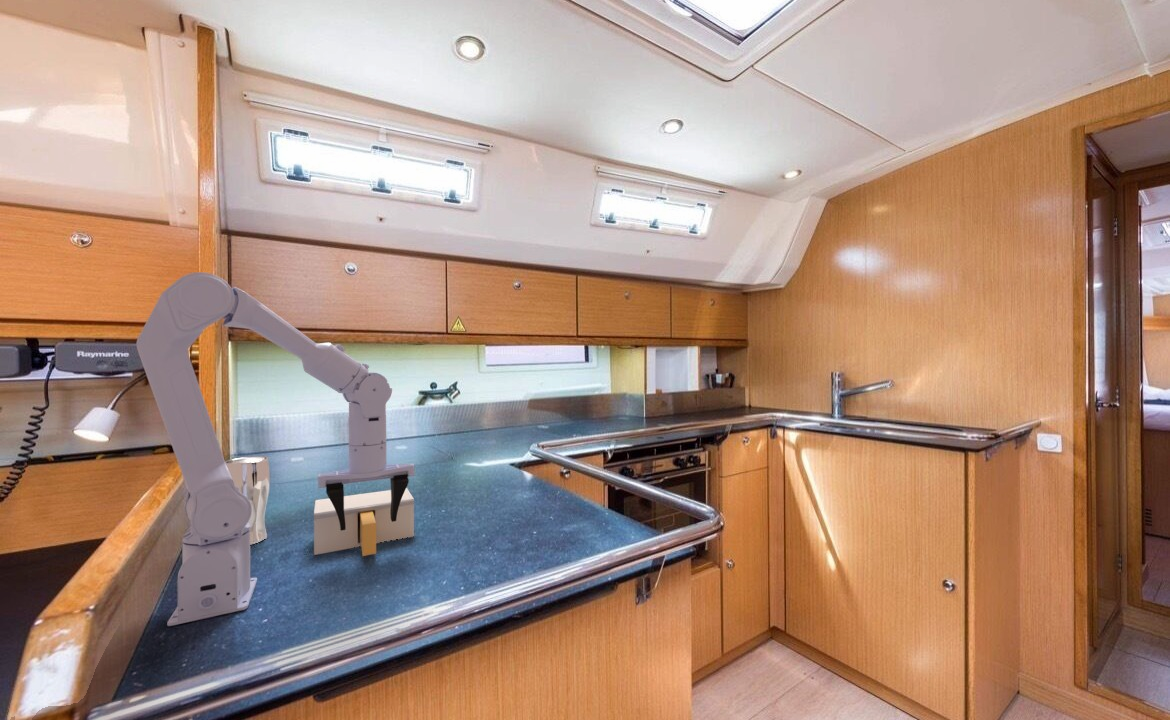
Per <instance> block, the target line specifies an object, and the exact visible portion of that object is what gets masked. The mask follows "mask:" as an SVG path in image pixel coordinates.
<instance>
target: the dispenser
mask: <svg viewBox="0 0 1170 720" xmlns="http://www.w3.org/2000/svg"><path fill="white" fill-rule="evenodd" d="M414 507H415V498H414V497H413V495H412V494H411V493H410V491H409V489H408V487H407V488H406V489H405V492H404V494H403V496H402V499H401V501H400V505H399V508H398V512H397V518H396V521H394V522H392V521H391V515H390V510H391V489H389V490H387V489H386V490H381V491H375V492H373V491H372V492H366V493H358V494H351V495H344V515H345V530H341V529H340V522H339V519H338V515H337V513H336V510H335V508H334V506H333V504H332V502H331V500H330V499H329V497H328V498H322V499H315V503H314V510H313V555H314V556H316V555H322V554H326V553H332V552H339V551H343V550H348V549H354V547H355V548H359V546H360V547H361V542H360V536H359V530H358V513H359V512H366V511H372V510H373V514H374V517H375V521H376V544H381V543H380V542H382V543H385V542H384V541H387V542H391V541H390V540H392V541H397V540H396V539H398V540H401V539H402V538H403V539H406V538H407V537H408V538H413V536H414V537H415V508H414Z"/></svg>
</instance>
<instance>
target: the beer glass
mask: <svg viewBox="0 0 1170 720" xmlns="http://www.w3.org/2000/svg"><path fill="white" fill-rule="evenodd" d="M225 463H226V465H227V467H228V470H229V472H230V474H231V476H232V479H233V481H234V484H235V485H236V486H237V488H238V489H239V491H240V492H241V493H242V494H244V495H245V496H246V497H247V498H248V499H249V501H250V503H251V506H252V513H251V517H250V519H249V521H248V523H249V524H250V545H252V544H255V543H258V542H260V541H262V540H264V539H266V540H267V538H268V534H267V529H266V525H265V523H266V522H265V514H266V508H267V503H268V498H269V494H270V486H271V484H270V483H271V481H270V480H271V479H270V473H271V472H270V465H269V457H268V456H261V455H260V456H259V455H258V456H257V455H256V456H245V457H238V458H232V459H228V460H225ZM264 541H265V540H264ZM258 544H259V543H258ZM255 545H256V544H255ZM252 546H253V545H252Z"/></svg>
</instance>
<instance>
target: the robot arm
mask: <svg viewBox="0 0 1170 720" xmlns="http://www.w3.org/2000/svg"><path fill="white" fill-rule="evenodd" d="M221 319H224V321H223V323H222V327H227V328H238V329H248V330H250V331H252V332H254V333H256V334H257V335H260V336H261V337H263V338H264V339H266V340H268V341H270V342H271V343H273V344H274V345H276V346H278V347H280V348H282V349H283V350H285V351H287V352H288V353H290V354H292V355H293V356H295V357H297V358H299V359H300V360H301V364H302V367H303V368H302V369H303V371H304V372H305V373H306V374H308V375H309V376H311V377H313V378H314V379H316V380H317V381H319V382H321V383H322V384H325V385H326V386H327V387H329V388H330V389H332V390H334V391H335V392H337V393H339V394H342V396H343V398H344V400H345V401H346V402H347V403H348V468H346V469H341V470H337V471H336V470H335V471H331V472H325V473H324V472H323V473H322V472H321V473H318V476H317V489H324V488H325V490H326V491H325V493H326V495H327V497H328V498H329V499H330V500H331V502H332V504H333V506H334V508H335V510H336V513H337V515H338V519H339V522H340V529H341V530H345V515H344V496H345V491H344V489H345V487H344V486H345V485H348V484H355V483H363V482H370V481H371V482H372V481H377V480H378V481H379V480H386V479H390V480H389V481H390V490H391V510H390V515H391V521H392V522H394V521H396V518H397V512H398V508H399V505H400V501H401V499H402V496H403V494H404V492H405V489H406V488H407V489H408V486H409V480H410V479H409V477H415V464H414V463H413V462H411V463H410V462H409V463H399V464H398V463H397V464H395V463H393V464H387V411H386V410H387V408H386V407H387V403H388V402H389V400H390V399H391V397H392V392H393V388H391V387H390V383H388V379H387V378H386V377H385V376H384V375H383V374H380V373H377V372H369V368H370V365H368V364H367V363H365V362H363V363H360V362H359V361H357V360H356V359H355V358H353V357H352V356H350V355H348V354H347V353H346V352H344V351H345V350H346V348H345V347H344V346H342V345H341V344H340V343H339V344H332V343H331V342H321V343H318V342H317V343H316V342H315V341H314V340H312V339H311V338H309V337H308V336H307V335H305V334H304V333H303V332H301V331H300V330H299V329H297V328H296V327H295V326H293V325H292V324H290V323H289V322H287V321H286V320H285V319H283V318H282V317H281V316H279V314H276V313H275V312H274V311H273V310H271V309H270V308H269V307H266V305H264V304H263V303H262V302H260V301H258V299H256V298H254V297H253V296H252V295H250V294H249V293H247V292H246V291H244V290H242V289H241V288H238V287H237V286H233V287H231V285H230V284H229V283H228V282H227V281H226V280H225V279H224V278H222V277H220V276H218V275H216V274H212V273H208V272H205V271H204V272H200V271H199V272H198V271H197V272H192V273H186V274H185V275H183V276H181V277H179V278H178V279H177V280H176V281H174V282H173V283H172V284H171V285H170V286H169V287H167V288H166V289H165V290H163V292H161V294H160V295H159V297H158V300H157V302H156V304H155V306H153V309H152V311H151V312H150V315H149V317H148V318H147V321H146V323H145V324H144V326H143V328H142V329H141V331H140V334H139V335H138V337H137V340H136V342H135V343H136V350H137V352H138V355H139V358H140V360H141V364H142V367H143V369H144V372H145V375H146V378H147V381H148V383H149V386H150V389H151V392H152V394H153V398H154V399H155V403H156V405H157V409H158V410H159V414H160V416H161V419H162V422H163V425H164V428H165V430H166V432H167V435H168V436H167V437H168V438H169V441H170V444H171V446H172V450H173V453H174V455H175V458H176V460H177V463H178V467H179V469H180V471H181V475H182V479H183V482H184V485H185V487H186V498H185V502H184V512H185V515H186V516H187V518H188V519H189V523H190V527H189V528H188V529H187V530H186V533H184V534H182V540H181V541H182V545H181V546H182V548H181V549H182V551H181V552H182V556H181V557H182V564H181V566H180V568H179V569H178V574H177V607H175V610H174V611H173V613H172V615H171V616H170V617H169V619H168V620H167V624H166V625H167V626H168V627H172V626H177V625H181V624H186V623H190V622H195V621H199V620H204V619H208V618H213V617H216V616H217V617H218V616H222V615H225V614H227V615H228V614H231V613H235V612H240V611H245V610H246V609H248V607H249V605H250V602H251V600H252V596H253V594H254V592H255V588H256V585H257V582H258V578H257V577H251V546H250V524H249V523H248V521H249V519H250V517H251V513H252V506H251V503H250V501H249V499H248V498H247V497H246V496H245V495H244V494H242V493H241V492H240V491H239V489H238V488H237V486H236V485H235V484H234V481H233V479H232V476H231V474H230V472H229V470H228V467H227V465H226V463H225V461H226V460H225V457H224V455H223V452H222V449H221V446H220V443H219V440H218V438H217V435H216V434H217V433H216V431H215V428H214V426H213V422H212V420H211V416H210V414H209V412H208V411H209V410H208V408H207V405H206V403H205V400H204V397H203V394H202V393H203V392H202V391H201V388H200V385H199V381H198V379H197V376H196V373H195V370H194V367H193V364H192V361H191V359H190V356H189V352H188V351H189V348H190V347H191V346H192V345H193V344H194V343H195V342H196V340H198V338H200V336H201V335H202V334H203V331H204V330H205V329H207V328H208V327H210V326H211V325H213V324H215V323H217V322H219V321H220V320H221Z"/></svg>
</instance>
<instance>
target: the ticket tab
mask: <svg viewBox="0 0 1170 720" xmlns="http://www.w3.org/2000/svg"><path fill="white" fill-rule="evenodd" d="M358 530H359V536H360V542H361V546H360V549H361V553H362V554H361V555H362V557H364V556H365V557H366V556H370V555H376V554H377V543H376V521H375V517H374V514H373V510H372V511H366V512H359V513H358Z"/></svg>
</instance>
